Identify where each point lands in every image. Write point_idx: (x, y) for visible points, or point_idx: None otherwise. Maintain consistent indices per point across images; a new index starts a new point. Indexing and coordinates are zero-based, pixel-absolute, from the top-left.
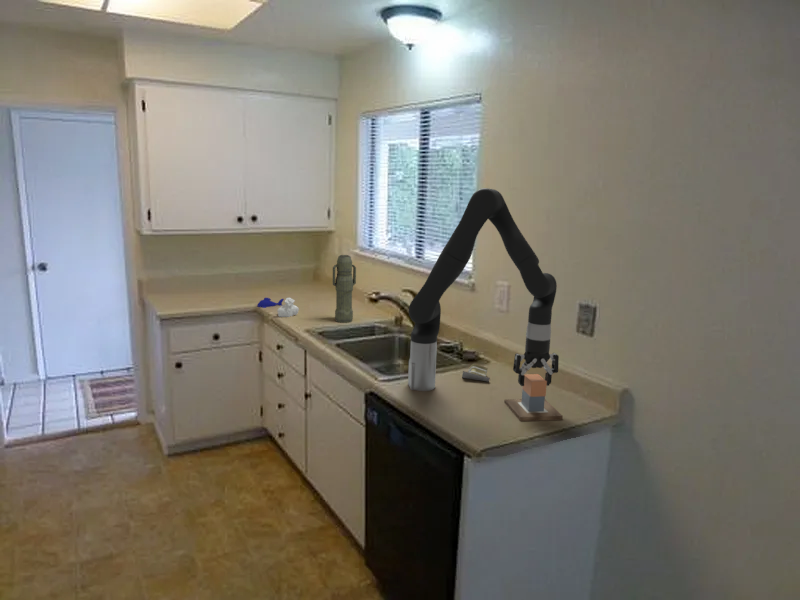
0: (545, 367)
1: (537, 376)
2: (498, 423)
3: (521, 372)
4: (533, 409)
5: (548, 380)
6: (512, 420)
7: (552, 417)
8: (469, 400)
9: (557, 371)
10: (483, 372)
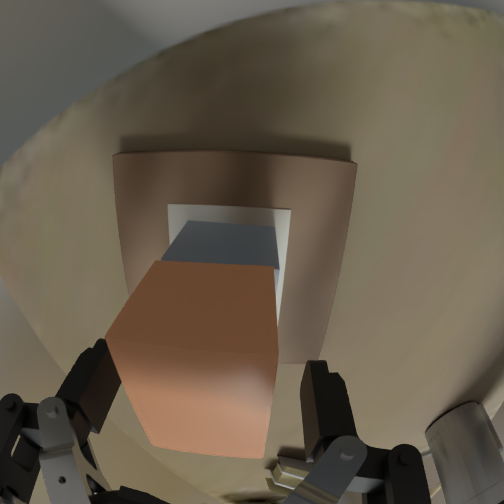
0: (77, 476)
1: (167, 426)
2: (449, 160)
3: (362, 459)
4: (246, 229)
5: (91, 366)
6: (381, 175)
7: (166, 151)
8: (415, 370)
9: (5, 399)
10: (284, 479)
